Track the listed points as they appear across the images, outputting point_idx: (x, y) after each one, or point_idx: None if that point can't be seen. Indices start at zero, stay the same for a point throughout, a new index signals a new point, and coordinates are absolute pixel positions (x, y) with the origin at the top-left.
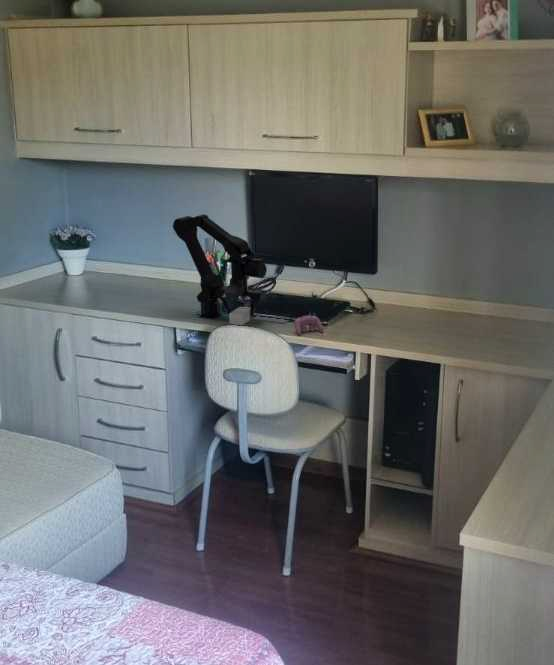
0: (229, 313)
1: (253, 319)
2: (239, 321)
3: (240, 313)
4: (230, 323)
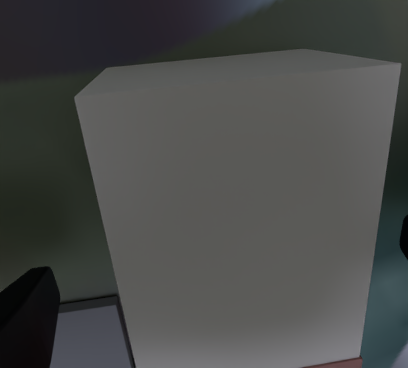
0: (396, 72)
1: (104, 303)
2: (140, 69)
3: (165, 183)
4: (292, 50)
